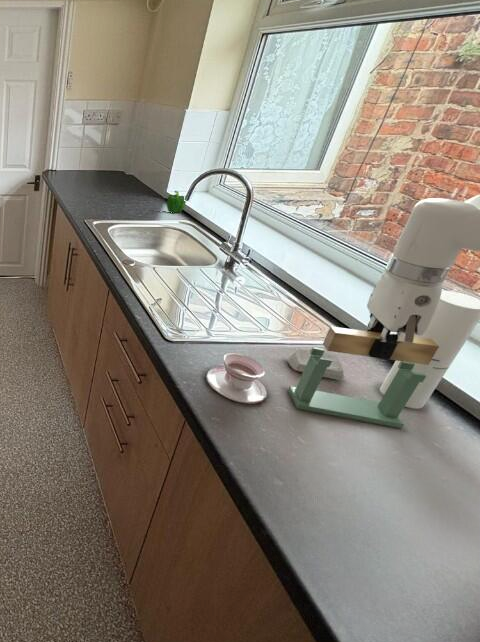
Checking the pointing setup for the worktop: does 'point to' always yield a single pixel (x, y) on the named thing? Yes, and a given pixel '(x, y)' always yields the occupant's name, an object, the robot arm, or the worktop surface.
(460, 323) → the cylindrical container
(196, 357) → the worktop surface
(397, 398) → the hanger stand
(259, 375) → the teacup
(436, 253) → the robot arm
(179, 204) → the bell pepper
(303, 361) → the grey stone block
